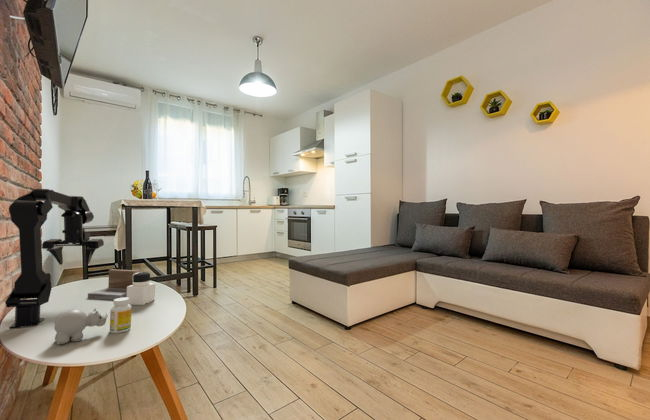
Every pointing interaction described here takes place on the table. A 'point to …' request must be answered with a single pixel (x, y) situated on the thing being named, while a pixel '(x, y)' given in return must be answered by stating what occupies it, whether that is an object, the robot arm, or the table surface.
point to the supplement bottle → (120, 315)
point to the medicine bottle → (141, 289)
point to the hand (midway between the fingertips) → (74, 264)
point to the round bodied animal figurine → (76, 324)
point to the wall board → (115, 285)
